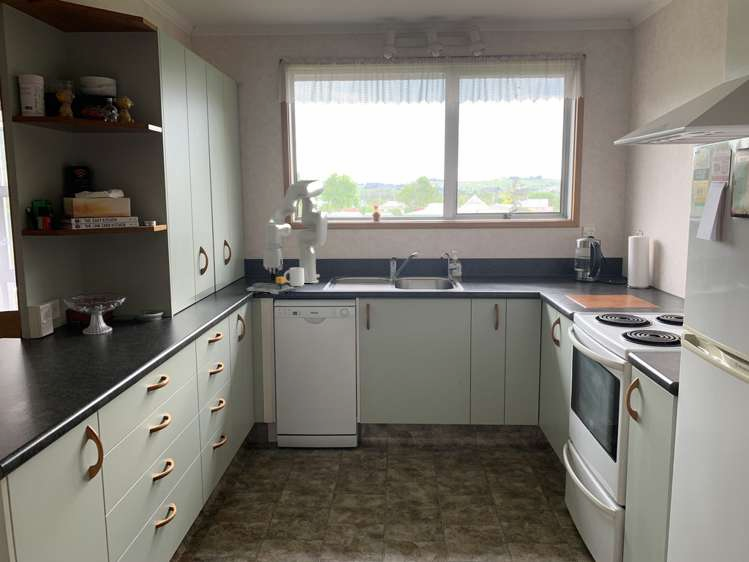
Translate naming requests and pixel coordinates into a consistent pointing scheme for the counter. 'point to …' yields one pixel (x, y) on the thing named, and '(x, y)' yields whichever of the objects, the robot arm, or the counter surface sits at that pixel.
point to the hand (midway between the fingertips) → (274, 280)
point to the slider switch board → (269, 288)
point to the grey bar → (286, 291)
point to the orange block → (280, 281)
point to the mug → (295, 276)
